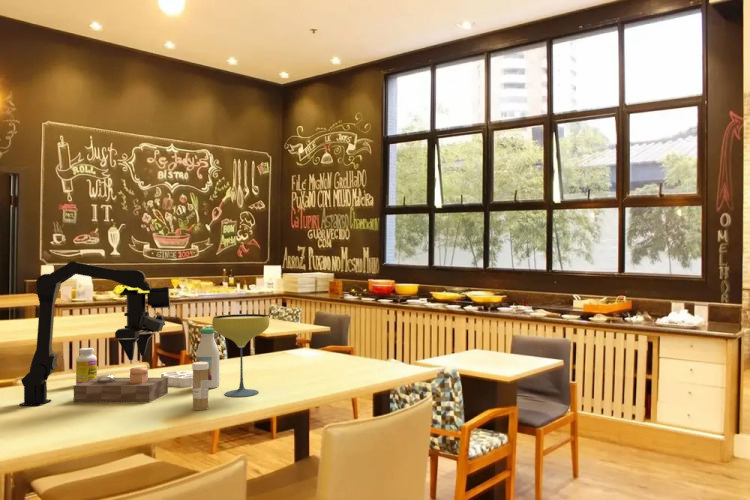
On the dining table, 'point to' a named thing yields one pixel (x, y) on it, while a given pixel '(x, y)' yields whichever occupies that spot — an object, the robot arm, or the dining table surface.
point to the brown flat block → (120, 390)
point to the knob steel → (105, 379)
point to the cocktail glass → (240, 338)
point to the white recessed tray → (179, 378)
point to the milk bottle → (209, 356)
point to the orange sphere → (138, 375)
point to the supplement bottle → (86, 365)
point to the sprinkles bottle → (200, 385)
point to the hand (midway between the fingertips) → (137, 357)
